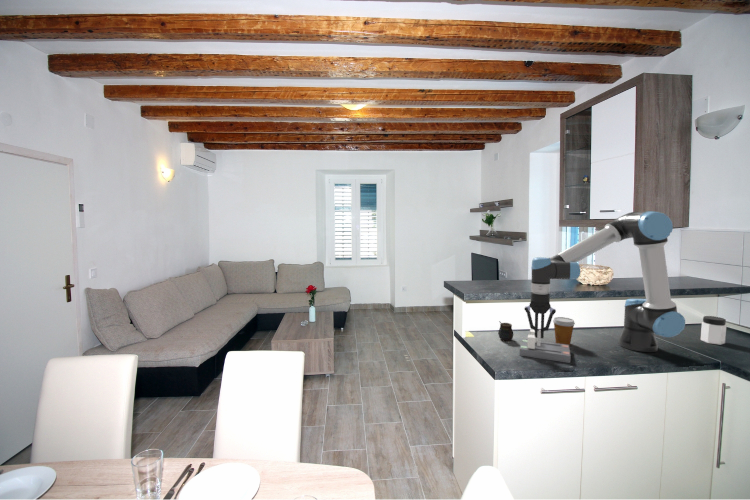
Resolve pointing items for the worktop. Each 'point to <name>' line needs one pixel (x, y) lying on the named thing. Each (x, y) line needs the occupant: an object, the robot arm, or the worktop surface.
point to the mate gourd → (505, 331)
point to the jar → (713, 330)
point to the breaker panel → (546, 351)
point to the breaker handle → (532, 332)
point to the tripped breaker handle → (531, 342)
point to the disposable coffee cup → (563, 330)
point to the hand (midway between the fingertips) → (538, 344)
